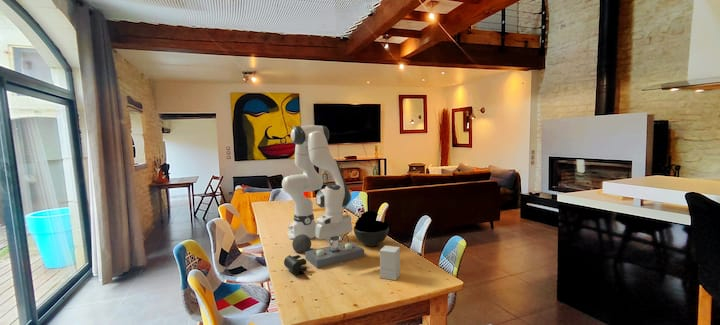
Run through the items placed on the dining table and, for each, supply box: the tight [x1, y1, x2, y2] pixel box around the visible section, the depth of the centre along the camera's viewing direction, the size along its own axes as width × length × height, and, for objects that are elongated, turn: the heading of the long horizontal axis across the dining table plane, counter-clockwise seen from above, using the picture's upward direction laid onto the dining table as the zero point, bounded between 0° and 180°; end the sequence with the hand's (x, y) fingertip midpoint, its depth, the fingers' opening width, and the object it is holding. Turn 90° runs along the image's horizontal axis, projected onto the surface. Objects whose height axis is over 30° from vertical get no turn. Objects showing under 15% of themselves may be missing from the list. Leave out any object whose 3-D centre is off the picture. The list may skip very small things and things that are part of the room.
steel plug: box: [329, 235, 340, 253], centre depth 164 cm, size 4×4×11 cm
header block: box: [304, 241, 365, 269], centre depth 165 cm, size 14×26×6 cm, turn 122°
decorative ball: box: [292, 234, 312, 254], centre depth 175 cm, size 10×10×10 cm
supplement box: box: [379, 245, 401, 281], centre depth 145 cm, size 7×7×13 cm
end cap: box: [283, 254, 308, 277], centre depth 151 cm, size 10×7×7 cm
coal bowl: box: [353, 210, 390, 247], centre depth 186 cm, size 20×20×19 cm
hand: (334, 244), depth 164 cm, fingers open, 4 cm apart
